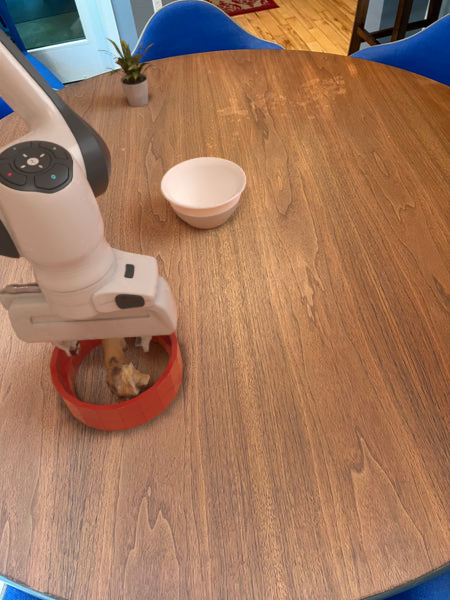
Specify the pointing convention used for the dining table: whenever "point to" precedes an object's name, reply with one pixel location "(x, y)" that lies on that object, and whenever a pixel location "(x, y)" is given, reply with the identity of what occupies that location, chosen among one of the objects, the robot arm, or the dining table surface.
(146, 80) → the house plant
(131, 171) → the dining table surface
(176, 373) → the red plastic ring
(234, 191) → the bowl
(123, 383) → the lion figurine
